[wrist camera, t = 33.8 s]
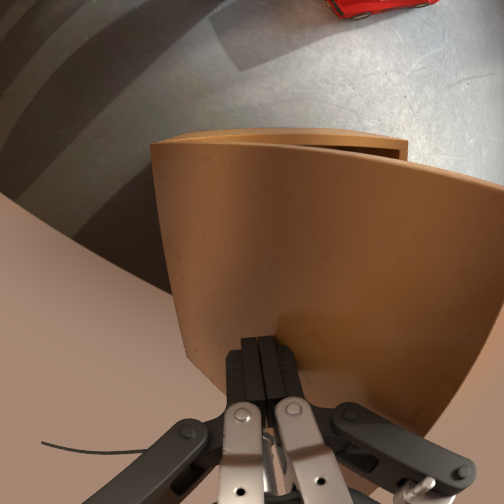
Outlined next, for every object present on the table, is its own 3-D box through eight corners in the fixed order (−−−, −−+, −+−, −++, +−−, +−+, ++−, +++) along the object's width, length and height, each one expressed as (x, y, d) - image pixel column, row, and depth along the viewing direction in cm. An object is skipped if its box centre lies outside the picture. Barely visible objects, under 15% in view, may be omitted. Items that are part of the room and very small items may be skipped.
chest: (341, 129, 31) (408, 140, 18) (334, 264, 38) (377, 331, 26) (186, 132, 30) (157, 142, 17) (200, 274, 37) (191, 351, 25)
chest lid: (530, 195, 4) (534, 201, 4) (372, 490, 12) (363, 500, 11) (162, 141, 17) (149, 143, 16) (195, 353, 25) (186, 357, 24)
